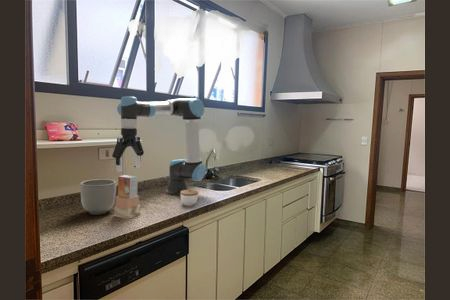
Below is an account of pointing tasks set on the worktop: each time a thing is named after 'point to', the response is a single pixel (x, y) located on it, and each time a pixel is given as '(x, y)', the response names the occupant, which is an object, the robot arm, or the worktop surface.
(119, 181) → the small box
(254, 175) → the worktop surface
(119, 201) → the terracotta block
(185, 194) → the lidded jar
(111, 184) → the planter
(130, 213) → the clear square container
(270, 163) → the worktop surface
